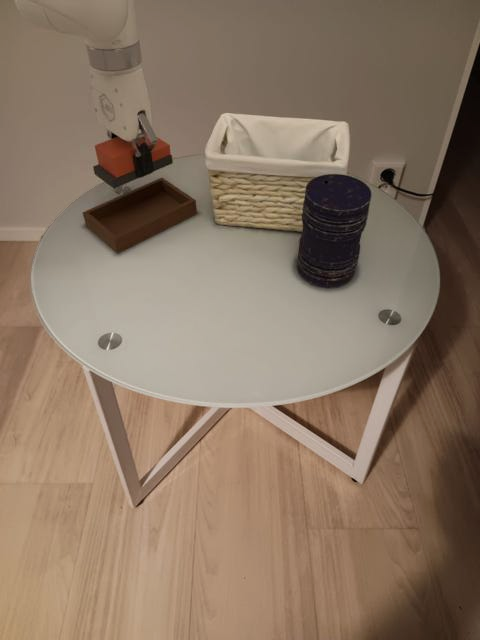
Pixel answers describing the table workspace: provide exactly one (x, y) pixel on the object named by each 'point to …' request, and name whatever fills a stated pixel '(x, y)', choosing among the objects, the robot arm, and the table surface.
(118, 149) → the shoe
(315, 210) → the storage jar
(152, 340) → the table surface
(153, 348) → the table surface
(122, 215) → the tray
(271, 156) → the basket
